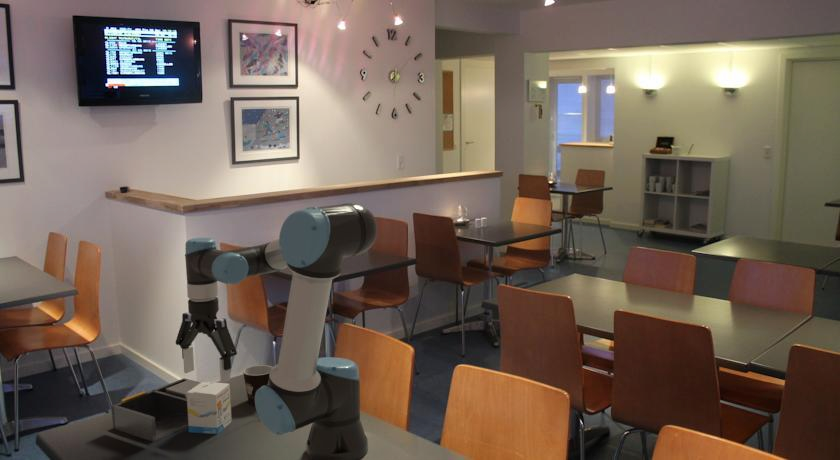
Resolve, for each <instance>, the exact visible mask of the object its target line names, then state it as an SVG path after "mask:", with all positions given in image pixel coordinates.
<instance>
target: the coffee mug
mask: <svg viewBox="0 0 840 460" xmlns="http://www.w3.org/2000/svg"><path fill="white" fill-rule="evenodd" d="M273 367H274V366H271V365H267V364H266V365H264V364H262V365H261V364H259V365H252V366H248V367H246V368H244V369H243V372H242V373H243V379H244V384H245V391H246V395H247V397H246V398H247V401H248V404H249V405H252V406H255V394H256V391H257V390H258V389H259V388H261V387H262V386H266V385H267V384H268V381H269V374H270V371H271V369H272V368H273Z"/></svg>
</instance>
